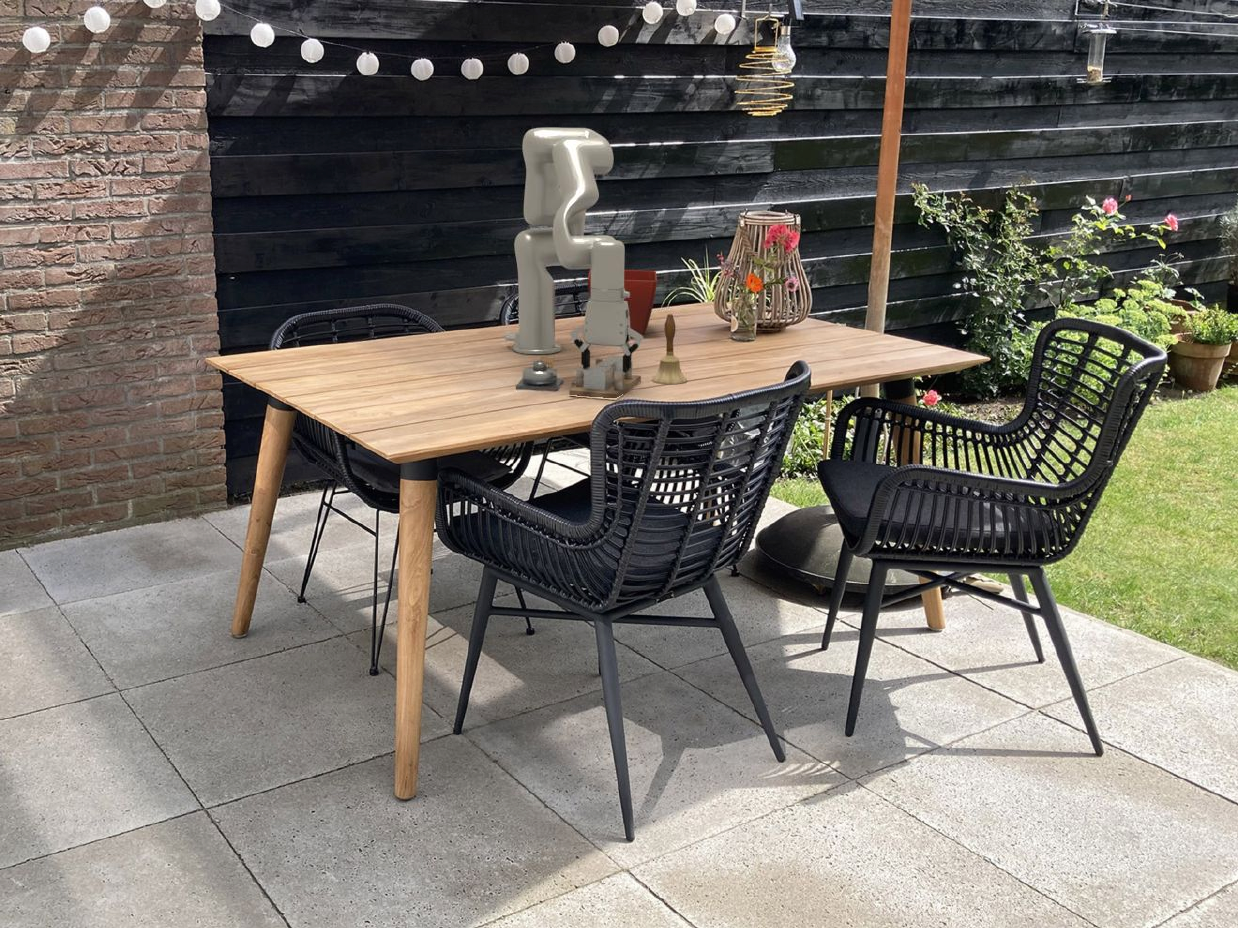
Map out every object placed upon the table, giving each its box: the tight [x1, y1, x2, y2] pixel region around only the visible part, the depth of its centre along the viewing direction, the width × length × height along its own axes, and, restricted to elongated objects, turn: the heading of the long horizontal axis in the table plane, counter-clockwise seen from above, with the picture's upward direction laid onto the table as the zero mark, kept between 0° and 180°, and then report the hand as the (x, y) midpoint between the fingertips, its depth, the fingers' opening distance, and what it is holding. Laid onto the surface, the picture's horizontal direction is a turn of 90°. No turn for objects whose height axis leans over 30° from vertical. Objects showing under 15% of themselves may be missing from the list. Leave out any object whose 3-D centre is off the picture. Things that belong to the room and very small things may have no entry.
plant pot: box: [586, 269, 658, 339], centre depth 352 cm, size 19×19×17 cm
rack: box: [568, 358, 642, 401], centre depth 287 cm, size 11×20×6 cm, turn 163°
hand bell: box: [651, 313, 688, 385], centre depth 296 cm, size 8×8×16 cm
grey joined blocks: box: [583, 354, 625, 391], centre depth 288 cm, size 18×5×4 cm, turn 163°
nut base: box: [515, 377, 564, 392], centre depth 290 cm, size 10×14×1 cm, turn 83°
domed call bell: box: [522, 356, 558, 384], centre depth 293 cm, size 14×8×4 cm, turn 173°
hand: (606, 369), depth 287 cm, fingers open, 9 cm apart
